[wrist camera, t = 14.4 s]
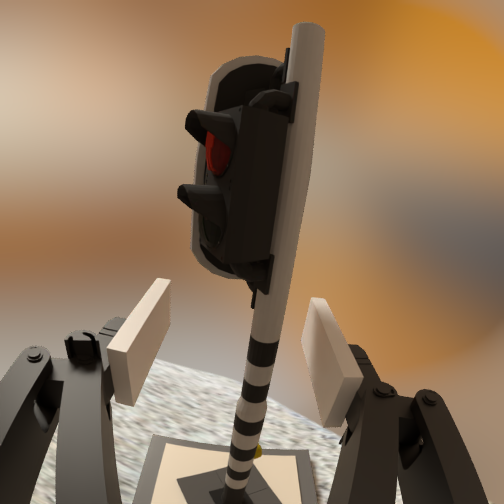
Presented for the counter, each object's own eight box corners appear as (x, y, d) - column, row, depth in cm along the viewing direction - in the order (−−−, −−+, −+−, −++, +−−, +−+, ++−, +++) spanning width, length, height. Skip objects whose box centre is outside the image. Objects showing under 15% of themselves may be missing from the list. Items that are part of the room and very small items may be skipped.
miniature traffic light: (247, 456, 23) (313, 69, 14) (290, 516, 16) (432, 50, 8) (168, 476, 19) (181, 32, 10) (202, 547, 13) (264, -55, 4)
